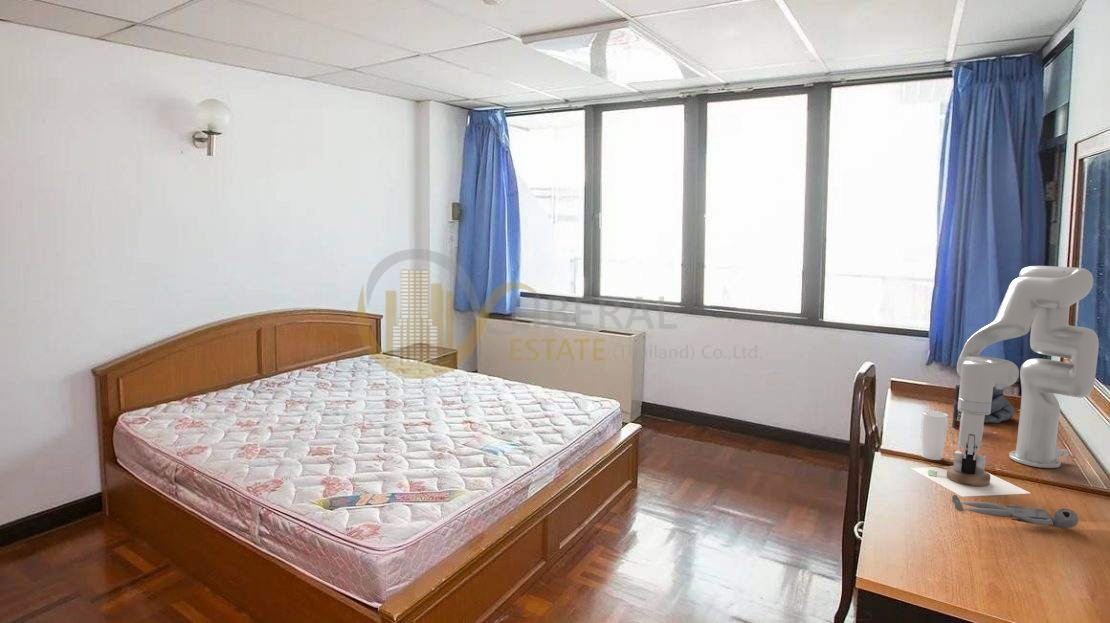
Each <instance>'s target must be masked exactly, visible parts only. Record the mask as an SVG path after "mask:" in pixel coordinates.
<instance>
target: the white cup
mask: <svg viewBox="0 0 1110 623" xmlns="http://www.w3.org/2000/svg"><path fill="white" fill-rule="evenodd" d="M948 423H949V415H948V414H947V413H945V412H942V411H936V410H924V411H923V412H922V415H921V424H920V425H921V426H920V427H921V434H920V436H921V454H920V455H921V457H922V458H924V459H927V460H932V461H940V460H942V459H943V453H944V447H945V442H946V438H947V437H946V436H947V432H948V425H949V424H948Z"/></svg>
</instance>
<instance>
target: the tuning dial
mask: <svg viewBox="0 0 1110 623" xmlns="http://www.w3.org/2000/svg"><path fill="white" fill-rule="evenodd" d="M953 455H954V457H953V465H949V467H948V466H943V465H942V466H941V465H937V464H932V463H931V464H930V467H937V468H942V469H947V477H948V478H949V479H951V480H953V481H955V482H958V483H961V484H965V485H971V486H987V485H989V484H990V474H991V473H990V474H989V472H988V471H986V468H985V467H986V459H987V455H982V454H977V453H976V459H975V460H976V469H975V474H968V473H963V472H961V467H962V458H964V451H962V450H961V451H960V450H954V454H953ZM987 472H988V473H987Z"/></svg>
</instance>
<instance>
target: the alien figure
mask: <svg viewBox="0 0 1110 623" xmlns="http://www.w3.org/2000/svg"><path fill="white" fill-rule="evenodd" d="M951 502H952V503H954V508H955V509H956V510H958V511H959V510H960V511H962V510H965V511H969V512H972V513H980V514H983V515H991V516H998V517H999V516H1000V517H1013V518H1011V520H1013V521H1014V522H1015V521H1017V522H1021V523H1025V524H1026V523H1028V524H1034V525H1038V526H1044V527H1045V526H1047V527H1048V526H1051V525H1052V526H1051V527H1053V528H1058V529H1068V528H1069V529H1070V528H1072V527H1076V526H1077V524H1078V523H1079V517H1078V514H1077V513H1076V512H1075V511H1074V510H1073V509H1070V508H1060V509H1057V510H1056V511H1055V512H1054V516H1051V514H1050V513H1049V512H1048V511H1046V510H1044V509H1043V508H1042V509H1041V508H1034V507H1033V508H1032V507H1025V506H1022V505H1017V504H1011V505H1006V506H1004V505H1001V504H997V503H994V502H988V501H987V502H986V501H985V502H984V501H969V502H968V501H964V502H961V500H960V498H959V496H958V495H957V494H953V495H952V498H951ZM963 505H966V506H970V507H967V508H964V507H963Z"/></svg>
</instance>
